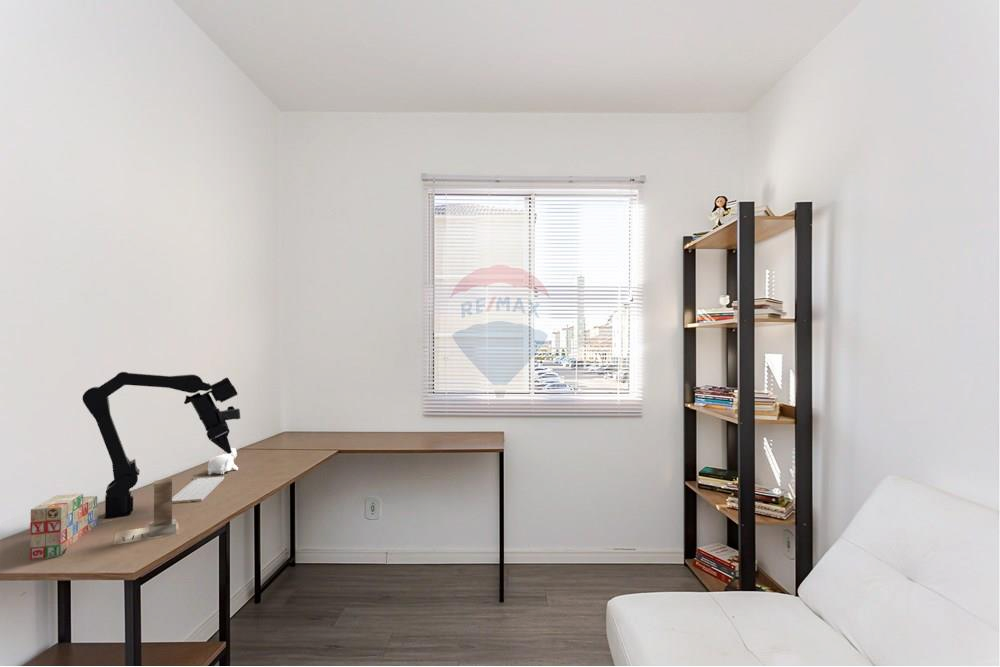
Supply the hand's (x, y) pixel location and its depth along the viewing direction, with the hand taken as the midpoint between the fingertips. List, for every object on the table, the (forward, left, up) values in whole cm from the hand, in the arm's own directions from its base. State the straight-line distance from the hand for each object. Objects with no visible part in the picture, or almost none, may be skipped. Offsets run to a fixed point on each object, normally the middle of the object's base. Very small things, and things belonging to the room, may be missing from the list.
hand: (229, 451), depth 179 cm
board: (-23, -28, -16) cm, 39 cm away
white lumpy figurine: (+3, +46, -16) cm, 48 cm away
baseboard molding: (-9, +19, -17) cm, 27 cm away
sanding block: (-19, -30, -15) cm, 38 cm away
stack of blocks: (-40, -21, -16) cm, 48 cm away
